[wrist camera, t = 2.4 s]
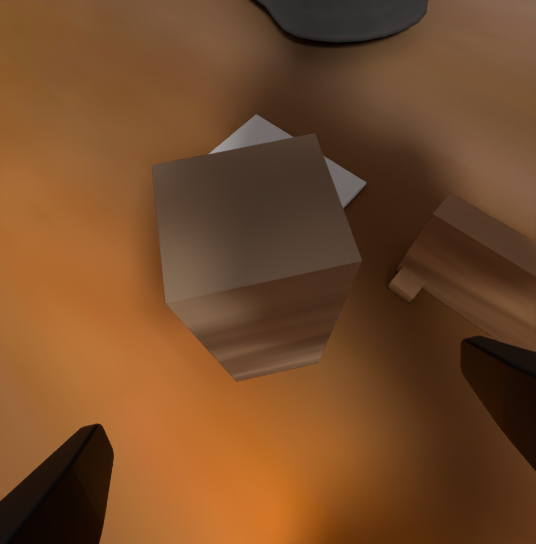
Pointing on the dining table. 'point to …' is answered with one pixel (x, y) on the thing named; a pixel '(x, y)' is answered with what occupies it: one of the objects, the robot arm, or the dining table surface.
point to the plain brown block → (255, 252)
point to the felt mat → (265, 132)
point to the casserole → (345, 18)
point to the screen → (474, 271)
